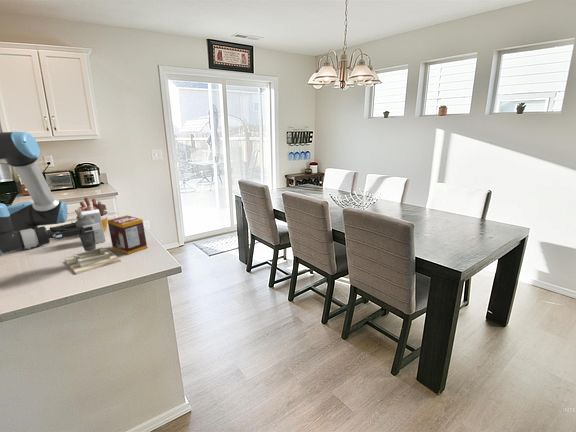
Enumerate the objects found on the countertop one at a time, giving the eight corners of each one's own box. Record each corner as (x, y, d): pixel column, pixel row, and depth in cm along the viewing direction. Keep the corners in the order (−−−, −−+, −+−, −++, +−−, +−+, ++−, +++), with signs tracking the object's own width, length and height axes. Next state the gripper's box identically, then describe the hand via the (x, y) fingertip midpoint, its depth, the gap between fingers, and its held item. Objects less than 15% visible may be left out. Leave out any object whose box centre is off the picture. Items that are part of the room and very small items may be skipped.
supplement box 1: (106, 241, 171) (100, 212, 166) (86, 245, 166) (79, 215, 161) (104, 237, 178) (98, 208, 174) (85, 240, 173) (79, 211, 169)
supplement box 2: (131, 242, 169) (126, 214, 165) (147, 248, 160) (142, 219, 156) (112, 248, 161) (106, 219, 157) (128, 254, 152) (122, 224, 148)
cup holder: (65, 261, 146) (63, 254, 145) (107, 250, 159) (105, 243, 158) (75, 274, 133) (74, 266, 132) (120, 261, 145) (119, 254, 144)
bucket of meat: (114, 232, 187) (107, 199, 181) (82, 238, 177) (74, 204, 171) (107, 224, 202) (101, 194, 196) (77, 230, 192) (70, 199, 186)
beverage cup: (90, 252, 140) (81, 209, 134) (76, 251, 141) (67, 209, 136) (102, 246, 147) (94, 205, 141) (89, 246, 148) (81, 205, 143)
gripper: (34, 240, 136) (92, 227, 152) (42, 251, 123) (105, 236, 138) (29, 223, 134) (89, 212, 150) (37, 233, 121) (102, 220, 136)
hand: (97, 224), depth 144 cm, fingers closed on beverage cup, 7 cm apart
